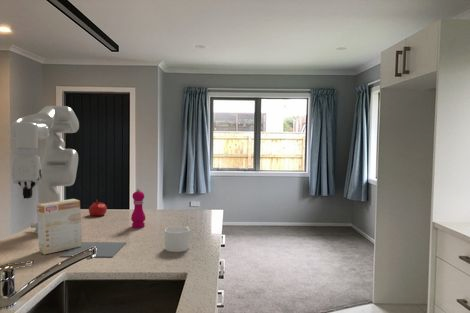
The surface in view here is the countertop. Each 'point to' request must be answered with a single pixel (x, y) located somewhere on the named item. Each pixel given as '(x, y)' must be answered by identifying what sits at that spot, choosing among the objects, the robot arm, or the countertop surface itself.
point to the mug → (177, 239)
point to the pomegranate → (97, 209)
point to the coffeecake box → (59, 225)
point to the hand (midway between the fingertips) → (27, 197)
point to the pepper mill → (138, 210)
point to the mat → (102, 248)
